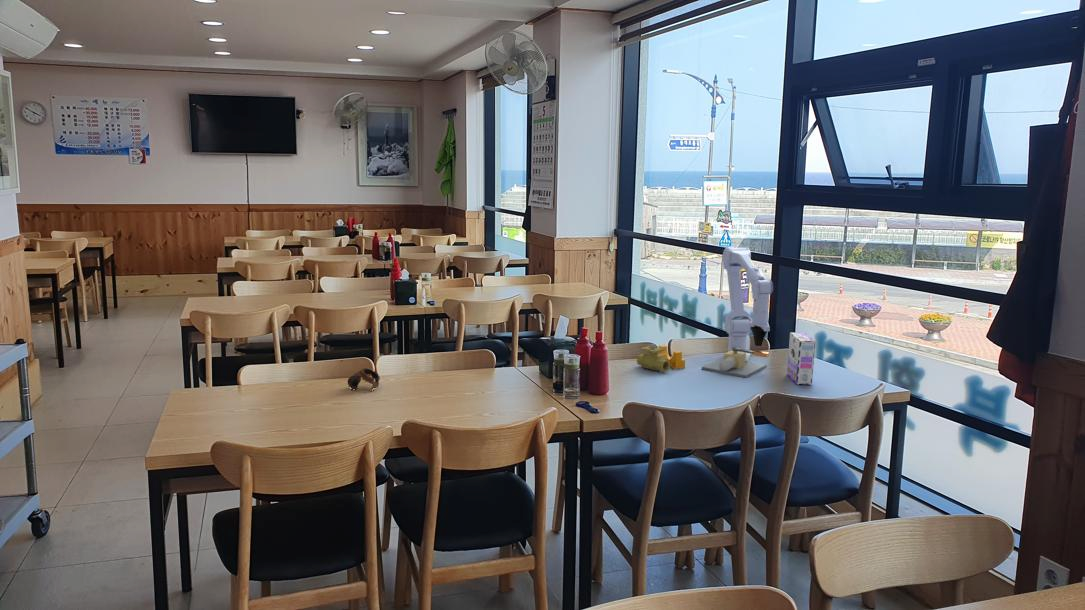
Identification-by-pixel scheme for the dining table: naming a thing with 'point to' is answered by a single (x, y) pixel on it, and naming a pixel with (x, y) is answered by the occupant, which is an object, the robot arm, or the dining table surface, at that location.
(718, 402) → the dining table surface
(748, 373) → the valve base
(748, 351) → the valve lever
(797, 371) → the candy box
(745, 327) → the robot arm
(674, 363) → the pipe clamp
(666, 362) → the ball valve
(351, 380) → the brown arched figurine
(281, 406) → the dining table surface
